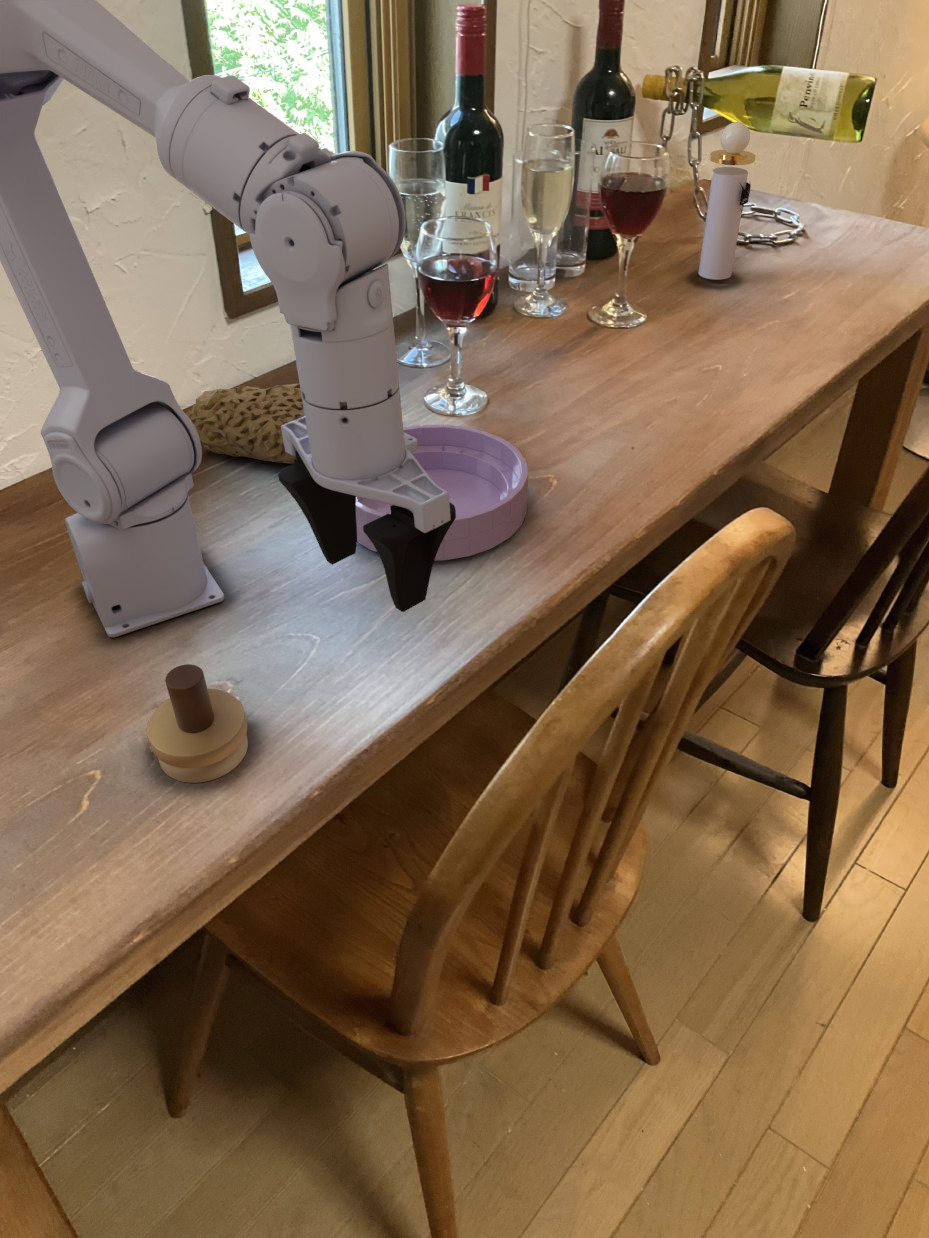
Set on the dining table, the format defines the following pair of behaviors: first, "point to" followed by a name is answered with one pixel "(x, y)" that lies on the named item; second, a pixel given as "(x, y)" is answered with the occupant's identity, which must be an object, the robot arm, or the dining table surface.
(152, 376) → the robot arm
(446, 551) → the bowl
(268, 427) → the sponge
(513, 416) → the dining table surface
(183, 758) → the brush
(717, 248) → the white cylinder with ball
